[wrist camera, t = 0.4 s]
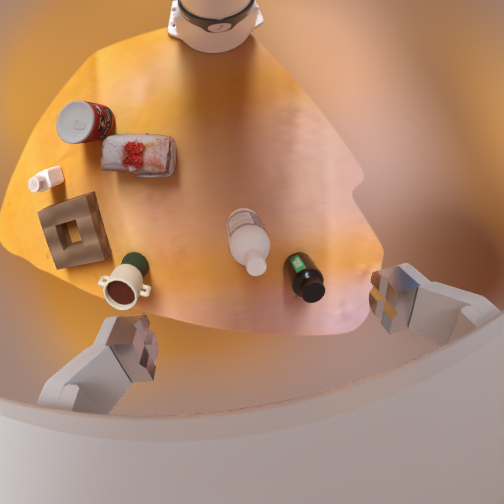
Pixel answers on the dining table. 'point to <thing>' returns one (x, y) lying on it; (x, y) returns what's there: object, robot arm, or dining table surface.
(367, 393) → the robot arm
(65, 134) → the canned food
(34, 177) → the pepper shaker
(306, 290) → the supplement bottle
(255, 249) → the bath foam
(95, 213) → the socket
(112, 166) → the food item
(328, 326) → the dining table surface
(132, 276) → the character mug
